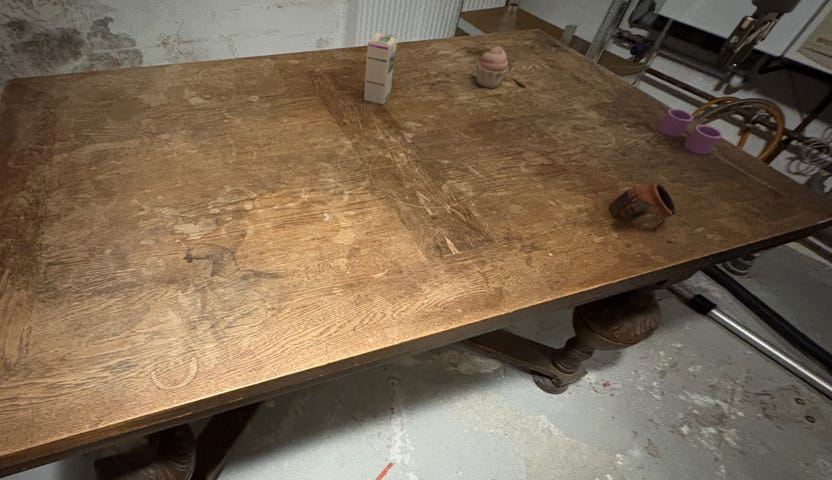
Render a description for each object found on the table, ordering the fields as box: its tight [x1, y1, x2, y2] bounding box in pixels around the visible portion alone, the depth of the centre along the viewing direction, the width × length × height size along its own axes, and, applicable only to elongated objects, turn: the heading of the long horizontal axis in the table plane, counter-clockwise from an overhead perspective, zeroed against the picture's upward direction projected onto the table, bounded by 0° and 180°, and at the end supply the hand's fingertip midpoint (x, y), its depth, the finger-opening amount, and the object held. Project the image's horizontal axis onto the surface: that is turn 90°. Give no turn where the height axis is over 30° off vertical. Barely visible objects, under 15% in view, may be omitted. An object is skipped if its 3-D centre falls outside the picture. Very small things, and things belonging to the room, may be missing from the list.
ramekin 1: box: [656, 108, 694, 138], centre depth 104 cm, size 6×6×4 cm
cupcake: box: [475, 45, 510, 89], centre depth 113 cm, size 9×9×10 cm
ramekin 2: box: [683, 124, 723, 155], centre depth 100 cm, size 6×6×4 cm
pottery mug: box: [610, 181, 677, 230], centre depth 80 cm, size 12×9×8 cm
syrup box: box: [363, 32, 398, 106], centre depth 102 cm, size 6×6×14 cm
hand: (726, 65), depth 93 cm, fingers open, 8 cm apart
